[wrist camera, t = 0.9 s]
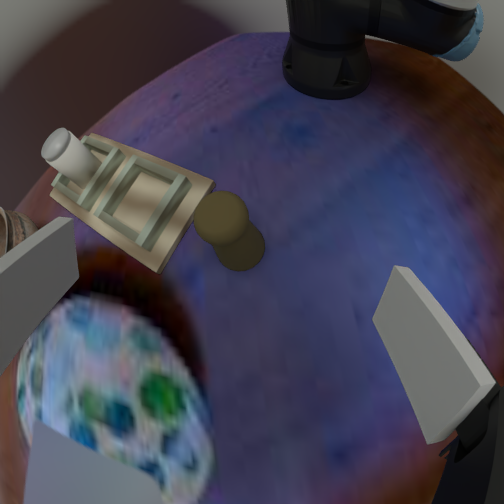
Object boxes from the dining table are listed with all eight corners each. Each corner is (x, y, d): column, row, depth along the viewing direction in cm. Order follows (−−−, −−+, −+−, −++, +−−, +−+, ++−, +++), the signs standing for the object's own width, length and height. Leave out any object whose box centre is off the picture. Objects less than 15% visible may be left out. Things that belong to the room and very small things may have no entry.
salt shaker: (91, 156, 44) (57, 124, 34) (108, 164, 43) (73, 130, 33) (73, 183, 43) (35, 154, 34) (89, 193, 42) (50, 163, 32)
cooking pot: (-2, 253, 45) (-44, 235, 33) (49, 195, 45) (6, 166, 34) (24, 364, 37) (-30, 361, 25) (85, 311, 38) (23, 298, 26)
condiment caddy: (94, 136, 47) (84, 125, 44) (215, 184, 39) (208, 170, 36) (53, 197, 45) (40, 189, 41) (160, 274, 37) (146, 268, 34)
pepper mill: (227, 218, 38) (201, 174, 27) (272, 232, 36) (260, 190, 26) (208, 261, 37) (173, 231, 26) (254, 278, 35) (233, 252, 25)
